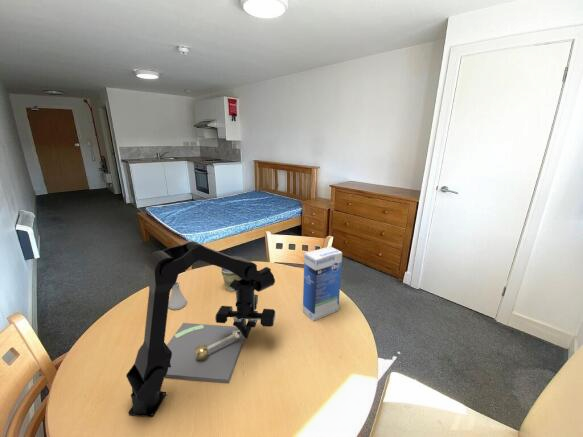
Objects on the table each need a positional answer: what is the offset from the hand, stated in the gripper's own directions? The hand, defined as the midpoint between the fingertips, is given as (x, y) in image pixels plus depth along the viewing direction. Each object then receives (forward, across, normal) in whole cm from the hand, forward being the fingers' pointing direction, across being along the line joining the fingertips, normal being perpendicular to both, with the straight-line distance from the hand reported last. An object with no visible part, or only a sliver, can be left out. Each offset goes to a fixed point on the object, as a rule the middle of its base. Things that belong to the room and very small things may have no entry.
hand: (246, 337), depth 89 cm
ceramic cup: (+2, +14, -34) cm, 37 cm away
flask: (+2, +34, -18) cm, 38 cm away
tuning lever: (+1, +8, +5) cm, 9 cm away
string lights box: (+2, -25, -20) cm, 32 cm away
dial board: (+2, +13, +5) cm, 14 cm away
